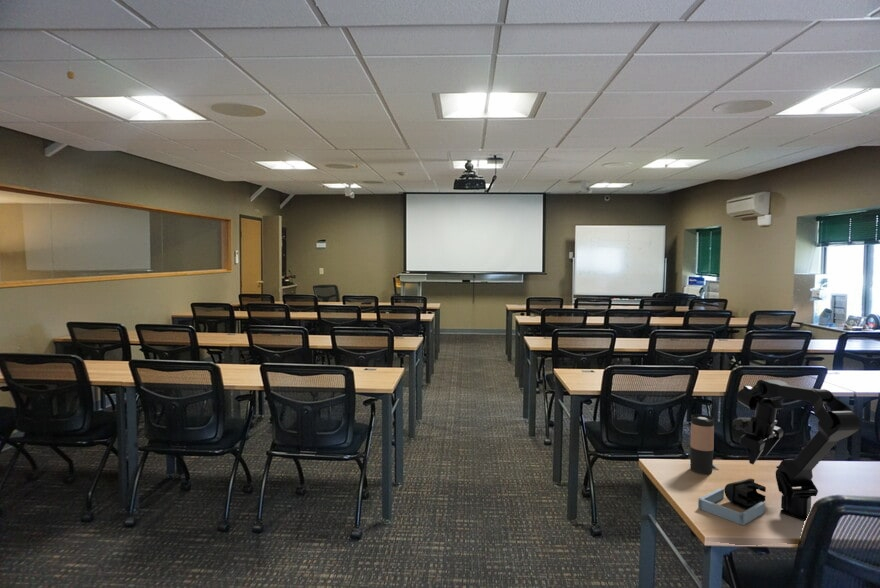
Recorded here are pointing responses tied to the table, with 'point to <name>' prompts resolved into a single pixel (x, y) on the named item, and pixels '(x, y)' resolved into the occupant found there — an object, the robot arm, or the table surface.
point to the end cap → (744, 493)
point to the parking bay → (741, 518)
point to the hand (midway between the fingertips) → (757, 459)
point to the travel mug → (702, 443)
